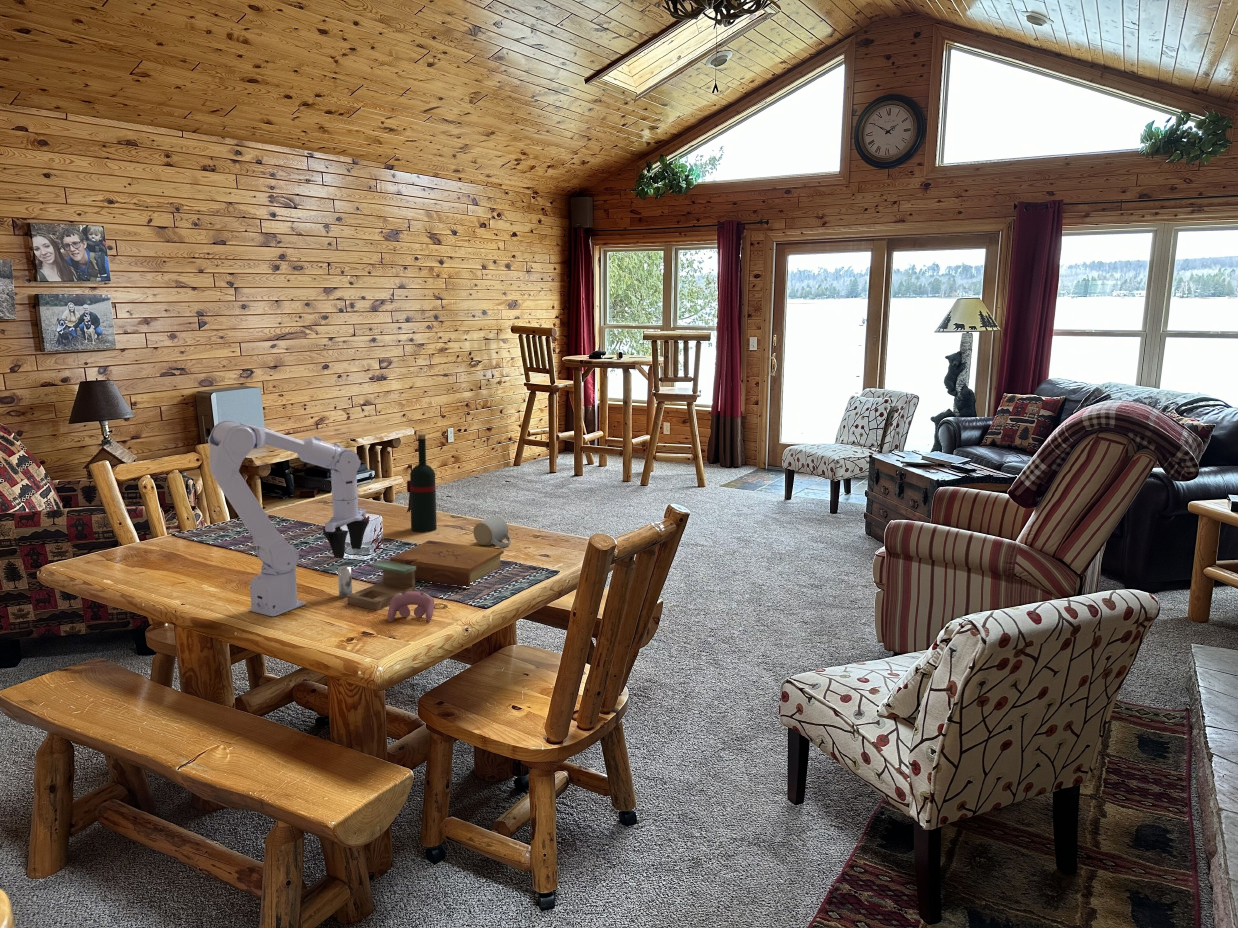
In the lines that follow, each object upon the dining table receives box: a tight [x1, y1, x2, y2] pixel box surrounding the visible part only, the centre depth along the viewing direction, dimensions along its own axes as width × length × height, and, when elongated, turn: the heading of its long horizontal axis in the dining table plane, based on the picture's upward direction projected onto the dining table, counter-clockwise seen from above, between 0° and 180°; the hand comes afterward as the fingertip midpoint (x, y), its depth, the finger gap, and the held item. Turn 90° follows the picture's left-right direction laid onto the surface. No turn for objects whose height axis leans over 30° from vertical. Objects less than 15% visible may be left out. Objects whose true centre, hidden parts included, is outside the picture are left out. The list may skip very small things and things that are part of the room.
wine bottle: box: [405, 433, 438, 533], centre depth 253 cm, size 8×10×30 cm
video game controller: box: [387, 590, 435, 623], centre depth 180 cm, size 10×5×7 cm, turn 92°
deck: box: [346, 559, 416, 611], centre depth 192 cm, size 13×10×7 cm
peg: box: [337, 565, 353, 599], centre depth 193 cm, size 3×3×7 cm
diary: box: [389, 540, 505, 587], centre depth 212 cm, size 23×19×6 cm
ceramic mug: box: [472, 515, 512, 548], centre depth 240 cm, size 11×8×8 cm
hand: (347, 553), depth 195 cm, fingers open, 7 cm apart
